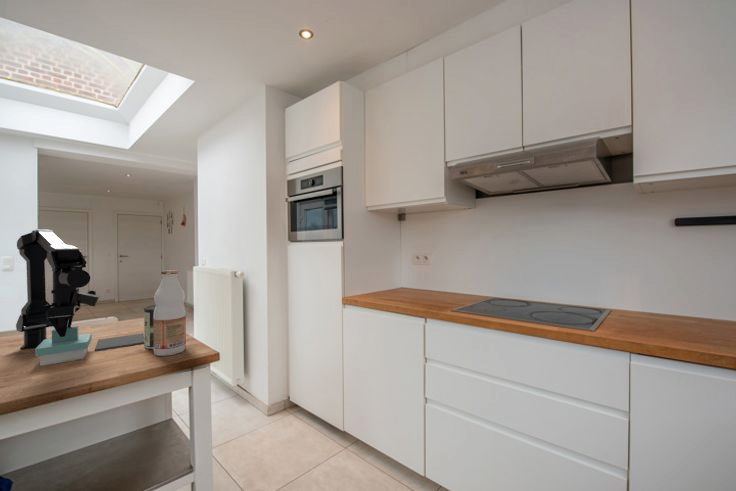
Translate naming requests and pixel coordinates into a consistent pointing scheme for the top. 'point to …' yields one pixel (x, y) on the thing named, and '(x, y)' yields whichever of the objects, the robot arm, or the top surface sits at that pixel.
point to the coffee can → (149, 327)
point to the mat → (119, 342)
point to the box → (62, 357)
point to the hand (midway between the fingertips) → (65, 333)
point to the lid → (64, 342)
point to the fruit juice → (169, 316)
